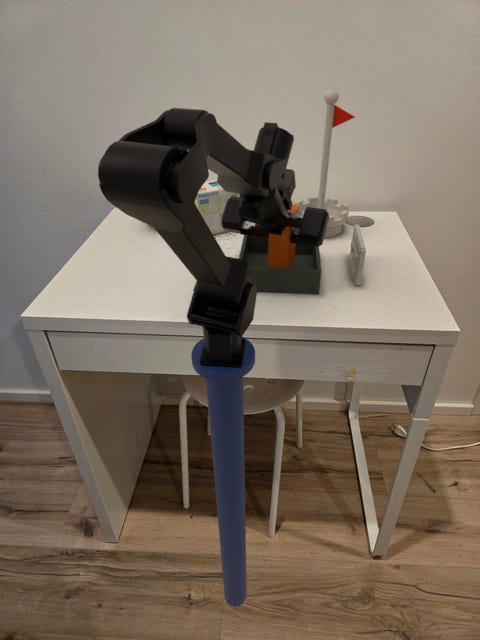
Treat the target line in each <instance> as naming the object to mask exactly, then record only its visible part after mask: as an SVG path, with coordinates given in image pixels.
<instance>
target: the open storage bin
mask: <svg viewBox="0 0 480 640" xmlns="http://www.w3.org/2000/svg"><path fill="white" fill-rule="evenodd" d="M268 246H269V237H254V236H247V235H243V239H242V242H241V247H240V252H239V256H238V259H243V260H245V261H246V262H247V263H248V264H249V268H250V270H251V271H252V272H253V275H252V277H253V279H254V282H255V285H256V286H257V293H272V294H294V295H295V294H296V295H297V294H298V295H320V290H321V289H320V288H321V279H322V264H321V263H322V261H321V253H320V246H319V247H315V246H309V245H300V244H296V246H295V256H294V266H293V268H292V269H289V268H267V262H268Z"/></svg>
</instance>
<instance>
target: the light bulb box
mask: <svg viewBox="0 0 480 640" xmlns="http://www.w3.org/2000/svg"><path fill="white" fill-rule="evenodd" d="M231 196H234V197H239V194H238V193H231V192H226V191H225V190H224V189H223V188H222V187H221V186H220V185H219V184H218V182H217V179H214V180H209V181H205V183H204V184H203V186H202V187H201V188H200V190H199V192H198V194H197V197H196V200H195V204H196V207H197V208H198V210H199V212H200V213H201V215H202V217H203V219H204V220H205V222H206V224H207V225H208V227H209V229H210V230H211V232H212V234H213V235H216V234H222V233H226V231H225V230H224V229H223V227H222V225H221V219H222V216H223V212H224V209H225V205H226V202H227V200H228V199H229V198H230V197H231Z"/></svg>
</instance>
